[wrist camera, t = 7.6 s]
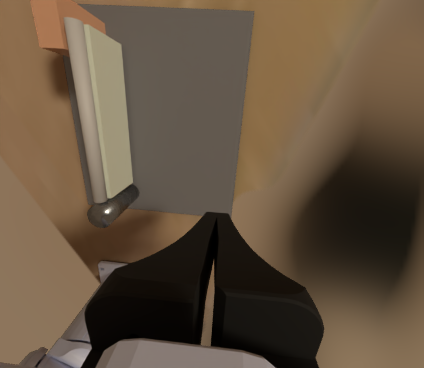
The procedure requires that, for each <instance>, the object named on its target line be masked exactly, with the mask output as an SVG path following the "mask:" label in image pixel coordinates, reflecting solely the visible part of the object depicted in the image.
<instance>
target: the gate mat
mask: <svg viewBox="0 0 424 368" xmlns="http://www.w3.org/2000/svg"><path fill="white" fill-rule="evenodd" d="M78 5H79V6H81V7H82V8H84V9H85V10H86V11H88V12H89V13H91V14H92V15H93V16H95V17H96V18H98V19H99V20H101V21H102V22H103V23H105V30H106V36H108V37H110V38H111V39H113V40H115V41H116V42H118V43H120V44H121V47H122V59H123V71H124V83H125V94H126V106H127V118H128V130H129V141H130V153H131V165H132V177H133V183H132V184H133V185H135V186H136V187H137V188H138V190H139V197H138V198H137V199H136V200H135V201H134V202H133V203H132V204H131V205H130V206H129V207H128V208H130V209H140V210H150V211H160V212H170V213H181V214H191V215H201V216H203V215H204V214H205V213H206V212H217V213H228V214H229V215H230V218H231V213H232V205H233V196H234V187H235V178H236V169H237V160H238V151H239V143H240V134H241V125H242V116H243V107H244V98H245V89H246V80H247V71H248V62H249V53H250V44H251V35H252V26H253V17H254V11H239V10H214V9H189V8H165V7H140V6H116V5H91V4H78ZM63 60H64V66H65V72H66V78H67V83H68V89H69V95H70V101H71V107H72V112H73V118H74V124H75V130H76V136H77V142H78V147H79V153H80V159H81V165H82V171H83V176H84V182H85V188H86V194H87V200H88V204H89V205H96V204H97V203H95V202H94V200H93V194H92V188H91V182H90V176H89V170H88V164H87V158H86V152H85V146H84V140H83V134H82V127H81V121H80V115H79V109H78V103H77V97H76V91H75V85H74V79H73V73H72V67H71V61H70V57H67V56H64V55H63Z"/></svg>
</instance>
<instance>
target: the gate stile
mask: <svg viewBox="0 0 424 368" xmlns="http://www.w3.org/2000/svg"><path fill="white" fill-rule="evenodd" d="M30 1H31V6H32V11H33V16H34V21H35V26H36V30H37V35H38V40H39V45H40V48H43V49H46V50H49V51H52V52H55V53H58V54H61V55H64V56H67V57H70V55H69V49H68V43H67V37H66V31H65V25H64V17H71V18H75V19H78V20H80V21H82V22H83V24H87V25H90V26H92V27H93V28H95V29H97V30H98V31H100V32H102V33H103V34H105V35H106V30H105V23H103V22H102V21H101V20H99V19H98V18H96V17H95V16H93V15H92V14H91V13H89V12H88V11H86V10H85V9H84V8H82V7H81V6H79V5H78V4H76V3H75V2H74V1H72V0H30Z"/></svg>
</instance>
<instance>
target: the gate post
mask: <svg viewBox="0 0 424 368" xmlns="http://www.w3.org/2000/svg"><path fill="white" fill-rule="evenodd" d="M138 197H139V190H138V188H137V187H136V186H135V185H133V184H130V185H129V186H127V187H126V188H125V189H123V190H122V191H121V192H119V193H118V194H117V195H115V196H114V197H113V198H108V200H107V201H106V202H103V203H97V204H96V205H94V206H93V207H91V208H90V209H89V210H88V213H87V216H88V219H89V221H90V222H91V223H92V224H93V225H94V226H96V227H99V228H105V227H108V226H109V225H110V224H111V223H112V222H113V221H114V220H115V219H116V218H117V217H118V216H119V215H120V214H121V213H123V212H124V211H125V210H126V209H127V208H128V207H129V206H130V205H131V204H132V203H133V202H134V201H135V200H136V199H137V198H138Z"/></svg>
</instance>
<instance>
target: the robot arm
mask: <svg viewBox="0 0 424 368" xmlns="http://www.w3.org/2000/svg"><path fill="white" fill-rule="evenodd" d="M213 260H214V285H215V294H214V309H213V322H212V323H213V324H212V336H211V346H202V345H201V337H202V328H203V319H204V310H205V301H206V295H207V290H208V285H209V280H210V275H211V270H212V265H213ZM98 269H99V274H100V280H101V284H100V286H99V287H98V288H97V290H96V291H95V292H94V294H93V295H92V297H91V298H90V299H89V300H88V302H87V303H86V304H85V306H84V307H83V308H82V310H81V311H80V312H79V314H78V315H77V316H76V318H75V319H74V321H73V322H72V323H71V325H70V326H69V327H68V329H67V330H66V331H65V333H64V334H63V335H62V337H61V338H59V339H58V340H57V341H56V343H55V344H54V345H53V347H52V348H51V349H50V351H49V352H48V353H47V355H46V354H45V353H46V352H47V350H48V349H46V348H44V347H41V348H40V349H38V350H35V351H33V352H31V353H29V354H28V355H27V356H26V357H25V358H24V359H23V360H22V361H21V362H20V364H19V365H15V364H7V363H0V368H319V367H318V364H317V361H316V358H315V357H316V354H317V352H318V349H319V346H320V343H321V341H322V338H323V333H324V325H323V322H322V319H321V316H320V314H319V312H318V310H317V308H316V306H315V304H314V302H313V300H312V298H311V297H310V295H309V293H308V292H307V290H306V288H305V287H303V286H301V285H300V284H298V283H297V282H295V281H293V280H291V279H290V278H288V277H286V276H285V275H283V274H282V273H280V272H279V271H277V270H276V269H275V268H273V267H271V266H270V265H269V264H268V263H267V262H265V261H264V260H263V259H262V258H261V257H260V256H258V255H257V254H256V253H255V252H254V251H253V250H252V249H251V248H250V247H249V245H248V244H247V243H246V242H245V240H244V239H243V238H242V237H241V235H240V234H239V232H238V230H237V229H236V227H235V226H234V224H233V222H232V220H231V218H230V215H229V214H228V213H217V212H206V213H205V214H204V215H203V217H202V218H201V219H200V220H199V221H198V222H197V223H196V224H195V225H194V227H193V228H192V229H190V230H189V231H188V232H187V233H186V234H185V235H184V236H182V237H181V238H180V239H179V240H177V241H176V242H174V243H173V244H171V245H170V246H168V247H166V248H164V249H163V250H161V251H159V252H157V253H155V254H153V255H151V256H149V257H146V258H144V259H141V260H139V261H136V262H133V263H130V264H125V263H116V262H108V261H100V262H99V263H98Z"/></svg>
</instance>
